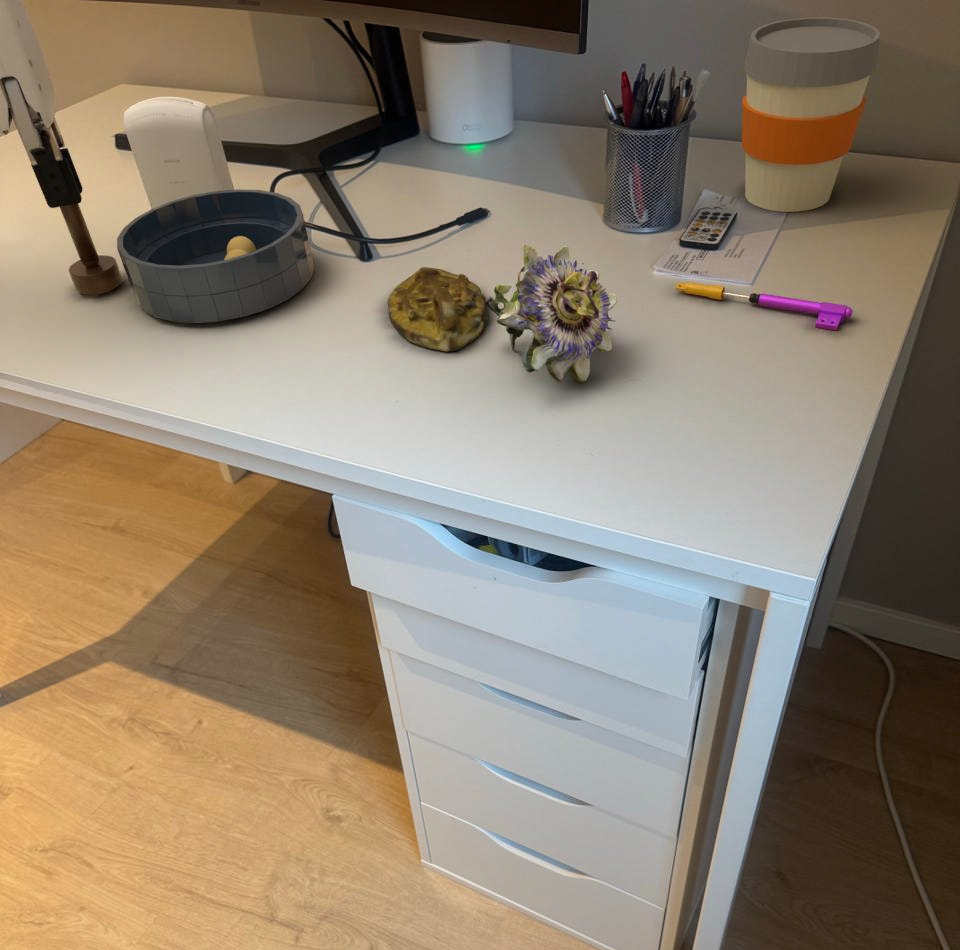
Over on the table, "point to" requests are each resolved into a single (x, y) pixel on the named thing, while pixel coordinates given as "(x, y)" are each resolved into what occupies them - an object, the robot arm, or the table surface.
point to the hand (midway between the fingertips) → (66, 198)
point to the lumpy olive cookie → (438, 309)
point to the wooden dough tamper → (89, 257)
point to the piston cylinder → (779, 303)
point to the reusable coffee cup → (803, 107)
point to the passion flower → (556, 314)
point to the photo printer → (176, 148)
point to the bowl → (216, 255)
